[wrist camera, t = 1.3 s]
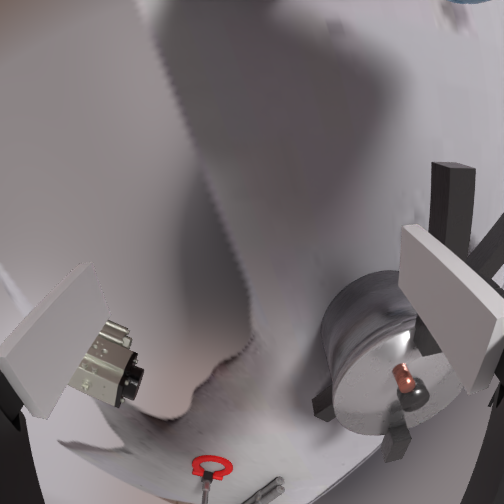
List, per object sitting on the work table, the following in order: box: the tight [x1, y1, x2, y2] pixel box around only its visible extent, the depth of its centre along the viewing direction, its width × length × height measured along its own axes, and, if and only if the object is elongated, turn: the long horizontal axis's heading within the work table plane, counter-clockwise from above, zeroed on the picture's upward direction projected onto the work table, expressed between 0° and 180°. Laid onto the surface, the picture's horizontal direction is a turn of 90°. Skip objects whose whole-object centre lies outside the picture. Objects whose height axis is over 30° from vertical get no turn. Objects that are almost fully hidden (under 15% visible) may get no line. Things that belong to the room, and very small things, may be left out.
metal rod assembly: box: [243, 477, 285, 504], centre depth 59 cm, size 26×3×5 cm, turn 156°
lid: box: [332, 162, 476, 463], centre depth 26 cm, size 35×17×4 cm, turn 6°
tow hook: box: [192, 455, 233, 504], centre depth 50 cm, size 8×13×9 cm
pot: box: [312, 213, 504, 422], centre depth 34 cm, size 26×26×11 cm
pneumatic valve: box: [67, 320, 144, 408], centre depth 36 cm, size 6×12×12 cm, turn 68°
